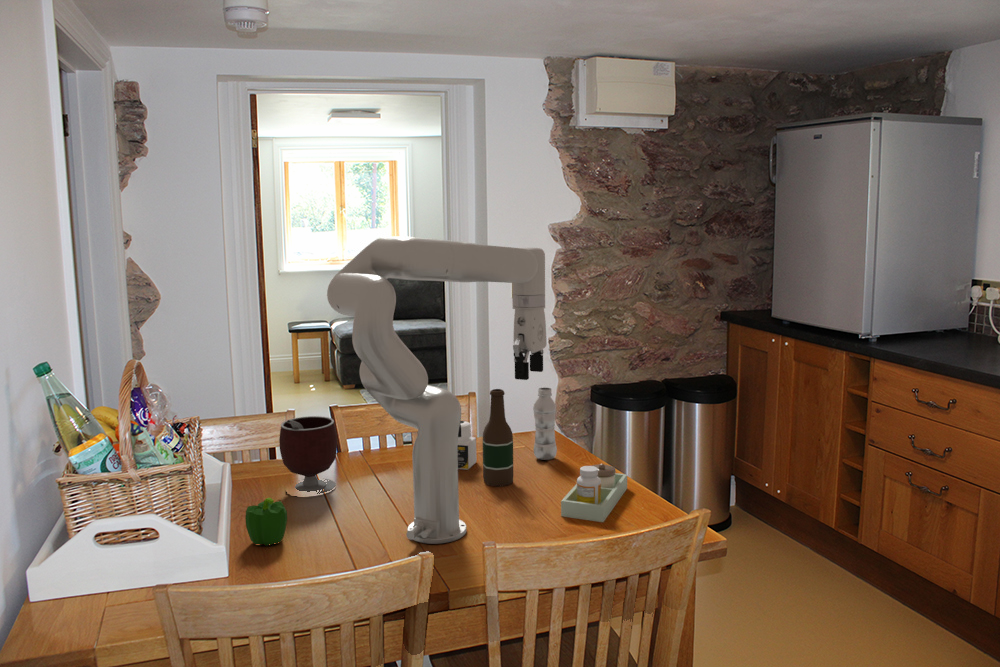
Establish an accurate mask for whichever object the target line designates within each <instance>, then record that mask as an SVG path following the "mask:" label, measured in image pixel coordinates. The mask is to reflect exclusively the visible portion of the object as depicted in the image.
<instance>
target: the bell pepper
mask: <svg viewBox="0 0 1000 667" xmlns="http://www.w3.org/2000/svg"><path fill="white" fill-rule="evenodd" d="M244 516H245V517H244V518H245V520H244V521H245V527H246V528H245V529H246V530H247V534H248V537H249V539H250V541H251V542H252V544H254V543H255V544H265V545H264V546H268V545H269V544H270V545H271V544H274V543H278V542H280V541H281V540H282V541H283V539H284V536H285V533H286V528H287V523H288V510H287V509H286V507H285V506H284V503H283V502H282V501H281V500H279V501H274V499H272V498H271V497H267V498H265V499H264V501H261V502H259V503H258V504H257V505H249V506H247V507H246V510H245V515H244ZM282 541H281V542H282ZM281 542H280V543H281ZM255 544H254V545H255ZM278 544H279V543H278Z"/></svg>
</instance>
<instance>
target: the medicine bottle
mask: <svg viewBox="0 0 1000 667" xmlns="http://www.w3.org/2000/svg"><path fill="white" fill-rule="evenodd" d="M471 425H472V424H471V423H470V422H468V421H465V420H461V421H460V426H459V433H458V470H466V471H469V469H471V468H472V467H473V466H474V465H475V464H476V463H477V459H478V458H477V437H475V436H474V437H473V436H472V430H471V429H472V426H471Z"/></svg>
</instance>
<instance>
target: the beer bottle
mask: <svg viewBox="0 0 1000 667" xmlns="http://www.w3.org/2000/svg"><path fill="white" fill-rule="evenodd" d="M489 395H490V409H489V419H488V422H487V424H486V425H485V426H484V430H483V432H482V474H483V475H482V476H483V477H482V478H483V482H484V483H485V484H486V486H490V487H497V488H498V487H507V486H509V485H510V484H512V483H513V482H514V435H513V431H512V429H511V427H510V424H508V422H507V419H506V412H505V411H506V410H505V398H504V395H506V394H505V391H504V389H501V388H495V389H491V390H490V392H489Z"/></svg>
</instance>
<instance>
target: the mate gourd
mask: <svg viewBox="0 0 1000 667" xmlns="http://www.w3.org/2000/svg"><path fill="white" fill-rule="evenodd" d="M278 439H279V440H278V441H279V451H280V455H281V460H282V463H283V465H284V466H285V468H286V469H287V470H288V471H289V472H290V473H292V474H295V475H300V476H302V477H303V476H304V478H303V480H304V481H303V482H300V483H298V484H296V486H295V488H296V489H297V490H299V491H307V492H310V491H316V492H317V490H319V492H320V490H321V489H322V491H321V492H320V493H324V492H327V491H330V490H332V489H333V488H334V487H335V486H336V487H337V484H336V482H335V481H334V480H332V479H328V478H324V479H325V480H327V482H324V481H325V480H324V481H322V480H318V479H317V478H318V477H317V475H319V474H322V473H324V472H325V471H328V470H329V469H330V467H331V466H332V465H333V463H334V462H335V461H336V457H337V451H338V434H337V428H336V424H335V420H334V419H333V418H331V417H329V416H321V415H320V416H319V415H318V416H317V415H316V416H314V415H312V416H300V417H294V418H291V419H287V420H285V421H283V422H282V423H281V424H280V431H279V438H278ZM328 480H329V481H328ZM326 483H327V484H326ZM323 489H324V491H323ZM319 492H318V493H319ZM318 493H317V494H318ZM320 493H319V494H320Z"/></svg>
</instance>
